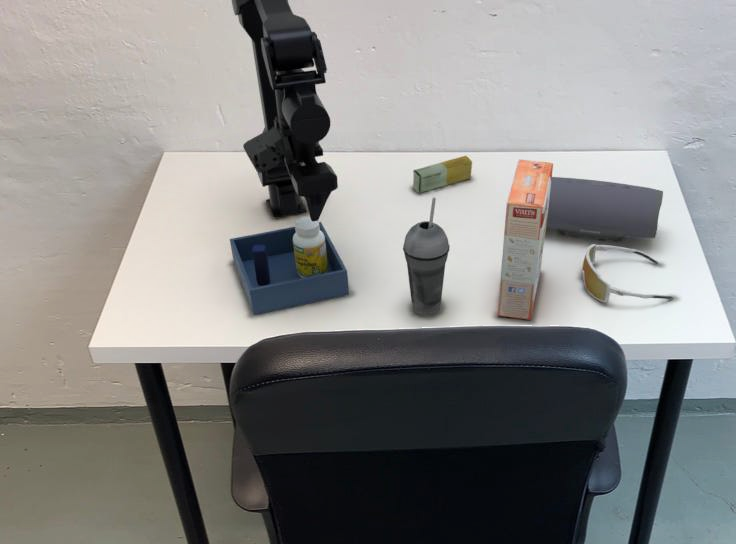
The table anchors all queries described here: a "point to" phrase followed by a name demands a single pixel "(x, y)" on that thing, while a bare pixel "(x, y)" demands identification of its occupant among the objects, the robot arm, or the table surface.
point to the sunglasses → (598, 285)
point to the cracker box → (524, 238)
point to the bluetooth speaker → (603, 209)
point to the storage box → (286, 272)
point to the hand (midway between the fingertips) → (307, 206)
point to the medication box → (442, 174)
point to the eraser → (261, 264)
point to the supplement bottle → (309, 248)
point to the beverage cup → (426, 264)
